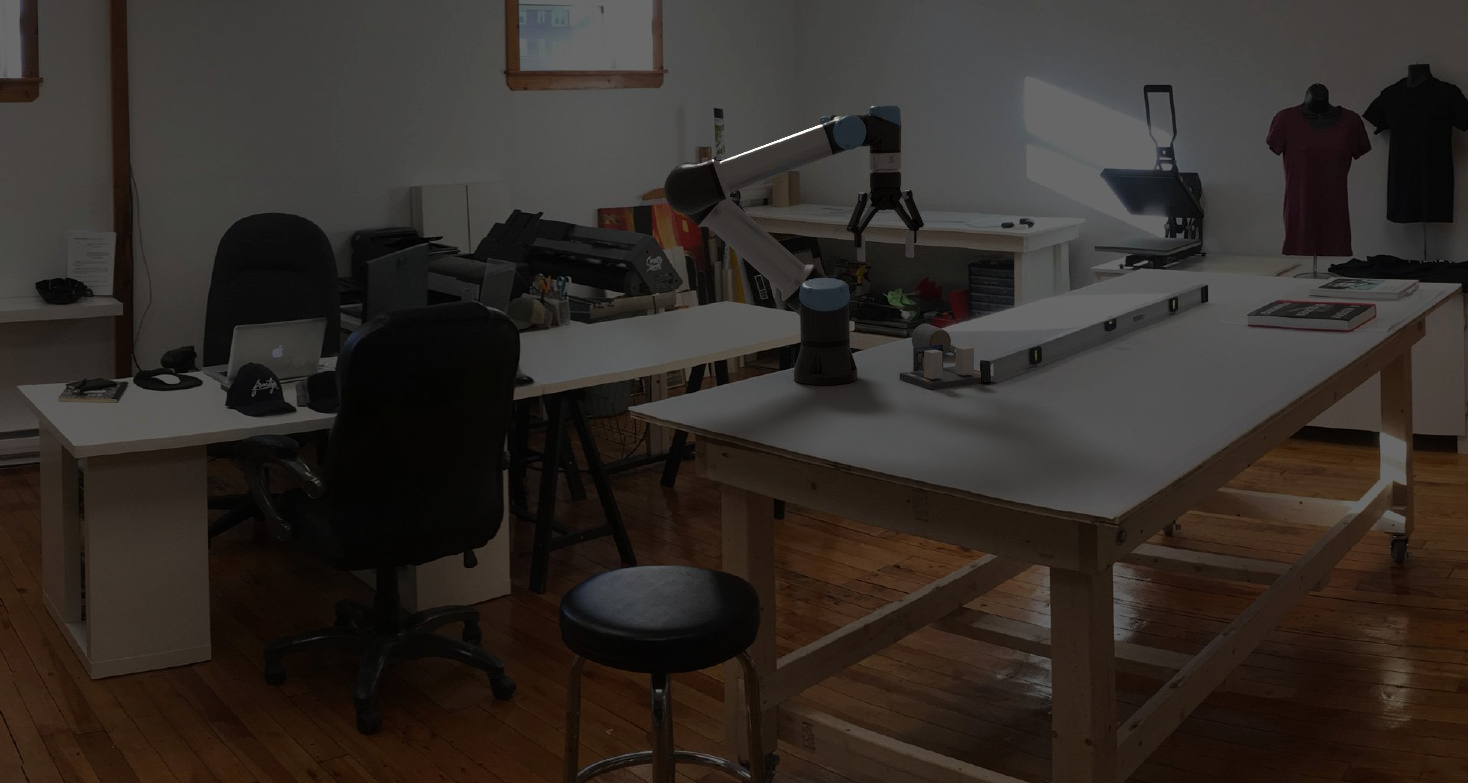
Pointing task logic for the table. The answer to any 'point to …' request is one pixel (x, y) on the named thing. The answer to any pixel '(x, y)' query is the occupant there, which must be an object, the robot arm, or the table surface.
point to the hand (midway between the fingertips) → (885, 259)
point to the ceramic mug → (932, 337)
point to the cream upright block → (933, 364)
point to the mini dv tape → (919, 355)
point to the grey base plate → (942, 379)
